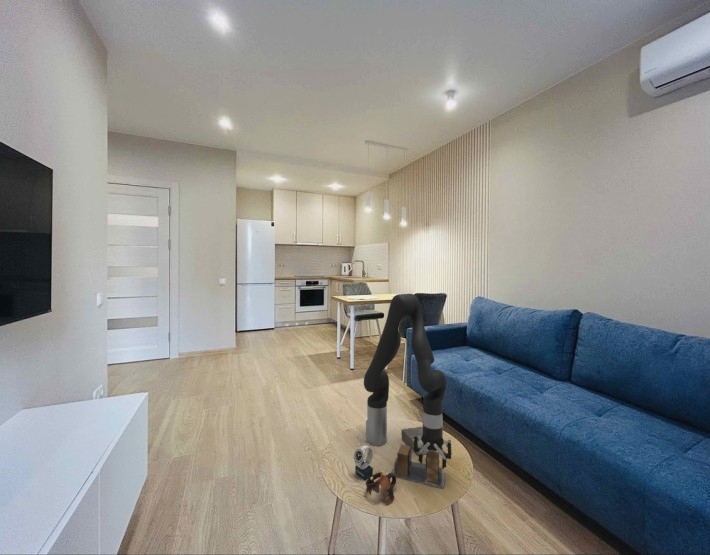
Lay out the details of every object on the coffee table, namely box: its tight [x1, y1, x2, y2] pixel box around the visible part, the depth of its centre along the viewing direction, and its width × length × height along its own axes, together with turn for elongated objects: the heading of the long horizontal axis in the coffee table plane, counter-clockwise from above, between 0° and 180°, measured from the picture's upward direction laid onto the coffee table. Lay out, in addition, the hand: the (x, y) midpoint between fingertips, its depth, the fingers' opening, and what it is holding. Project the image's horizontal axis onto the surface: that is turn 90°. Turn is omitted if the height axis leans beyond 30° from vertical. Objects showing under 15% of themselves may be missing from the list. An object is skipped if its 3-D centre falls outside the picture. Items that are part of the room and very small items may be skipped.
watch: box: [353, 444, 374, 482], centre depth 117 cm, size 6×8×11 cm
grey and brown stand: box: [390, 443, 446, 490], centre depth 117 cm, size 20×8×9 cm, turn 69°
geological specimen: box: [400, 426, 433, 457], centre depth 138 cm, size 11×6×15 cm
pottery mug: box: [365, 471, 397, 506], centre depth 107 cm, size 12×10×8 cm
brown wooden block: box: [425, 450, 440, 483], centre depth 115 cm, size 5×6×8 cm
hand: (432, 465), depth 115 cm, fingers open, 8 cm apart
